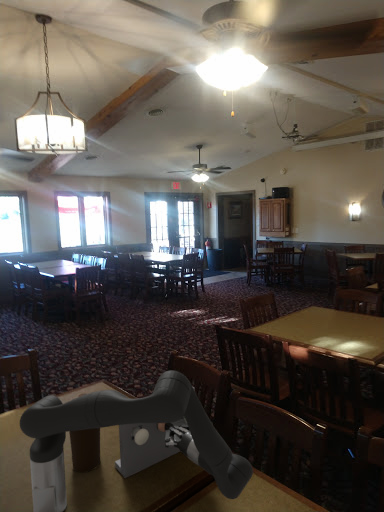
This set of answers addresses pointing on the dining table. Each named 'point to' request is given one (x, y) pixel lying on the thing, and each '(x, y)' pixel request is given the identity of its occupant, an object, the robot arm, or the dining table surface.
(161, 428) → the button terracotta
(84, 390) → the dining table surface
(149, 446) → the control panel
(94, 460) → the olive oil
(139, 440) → the button cream
